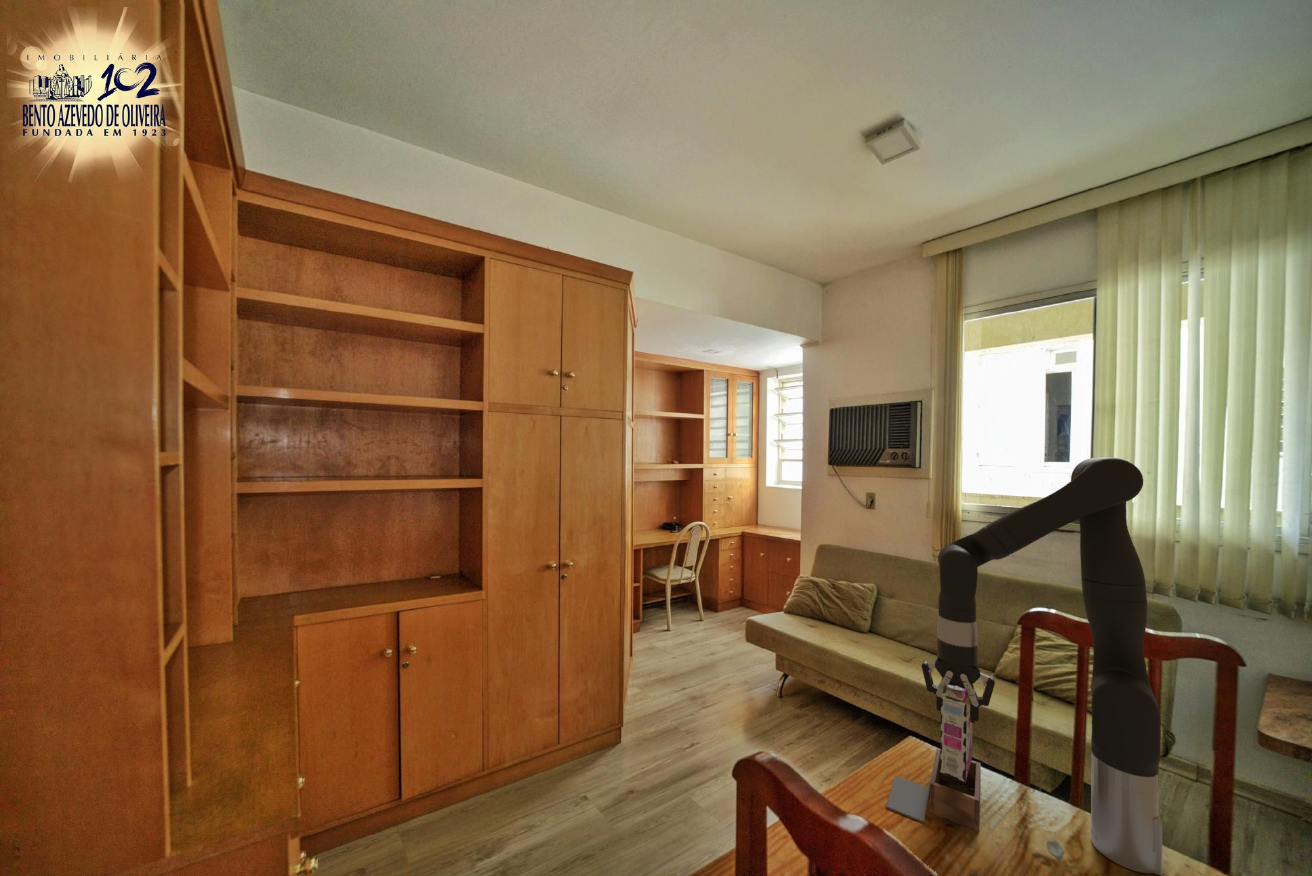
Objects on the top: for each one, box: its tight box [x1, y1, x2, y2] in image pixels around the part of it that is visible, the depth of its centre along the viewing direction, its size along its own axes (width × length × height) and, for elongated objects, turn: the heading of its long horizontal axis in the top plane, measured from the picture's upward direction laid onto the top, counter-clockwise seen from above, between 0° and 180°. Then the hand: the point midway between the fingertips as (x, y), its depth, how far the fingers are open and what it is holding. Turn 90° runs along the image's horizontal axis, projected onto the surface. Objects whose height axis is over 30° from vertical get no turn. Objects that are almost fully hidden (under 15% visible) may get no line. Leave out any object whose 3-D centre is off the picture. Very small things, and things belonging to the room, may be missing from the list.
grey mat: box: [885, 775, 930, 824], centre depth 105 cm, size 7×12×1 cm, turn 145°
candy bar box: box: [939, 684, 974, 782], centre depth 105 cm, size 11×5×16 cm, turn 141°
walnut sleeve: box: [929, 748, 982, 832], centre depth 105 cm, size 9×15×6 cm, turn 145°
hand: (957, 716), depth 105 cm, fingers closed on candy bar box, 5 cm apart
